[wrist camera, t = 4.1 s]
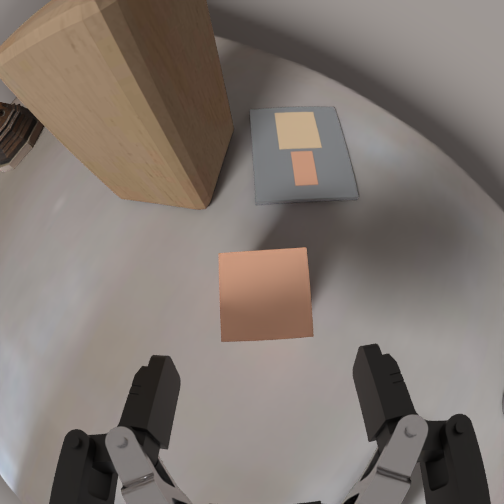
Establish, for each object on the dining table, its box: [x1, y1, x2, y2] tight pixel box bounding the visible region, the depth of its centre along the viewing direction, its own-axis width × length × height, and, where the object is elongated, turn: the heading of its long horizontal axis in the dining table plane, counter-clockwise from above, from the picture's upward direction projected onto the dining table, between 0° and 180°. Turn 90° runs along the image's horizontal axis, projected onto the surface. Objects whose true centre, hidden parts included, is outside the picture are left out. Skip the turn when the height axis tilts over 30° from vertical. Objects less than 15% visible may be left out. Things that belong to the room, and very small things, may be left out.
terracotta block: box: [219, 247, 313, 342], centre depth 17 cm, size 4×4×8 cm
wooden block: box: [0, 0, 234, 210], centre depth 16 cm, size 10×10×20 cm
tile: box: [250, 107, 359, 205], centre depth 24 cm, size 9×11×1 cm
